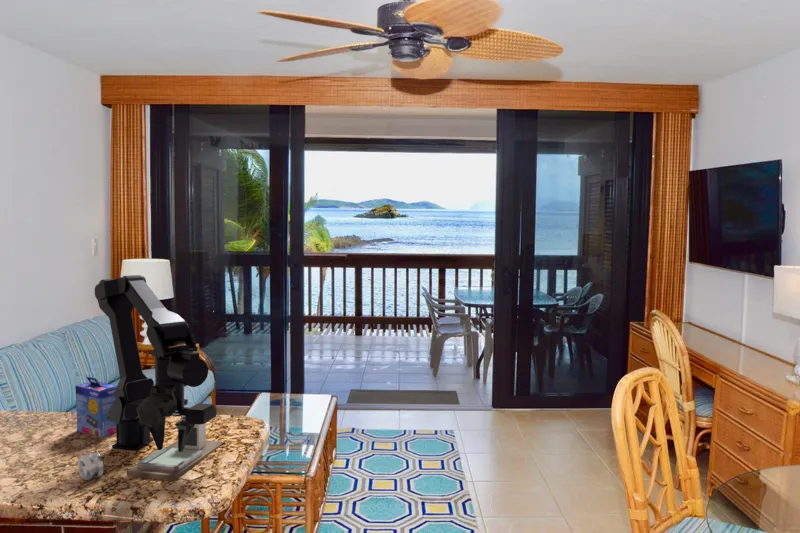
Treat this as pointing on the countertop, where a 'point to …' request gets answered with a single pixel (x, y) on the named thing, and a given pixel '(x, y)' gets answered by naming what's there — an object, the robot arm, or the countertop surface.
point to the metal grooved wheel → (90, 466)
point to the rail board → (174, 461)
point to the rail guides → (162, 467)
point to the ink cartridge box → (95, 407)
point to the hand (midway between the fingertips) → (170, 450)
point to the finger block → (197, 437)
